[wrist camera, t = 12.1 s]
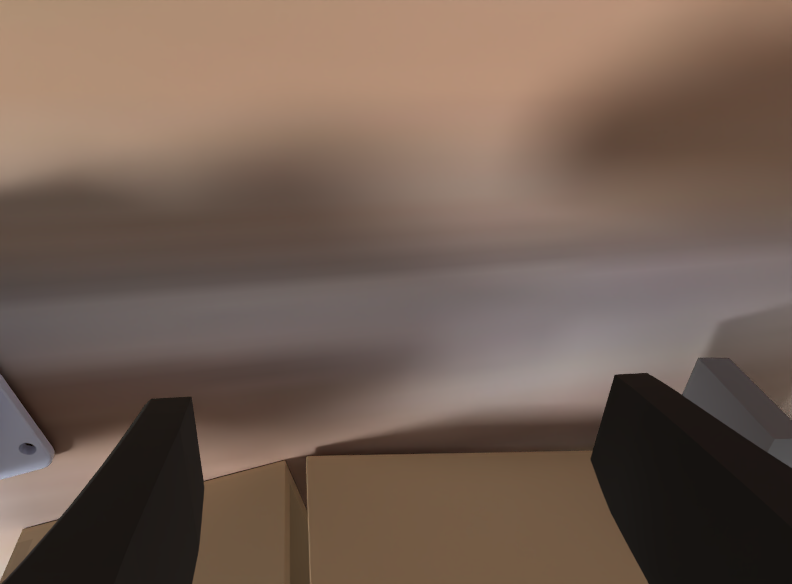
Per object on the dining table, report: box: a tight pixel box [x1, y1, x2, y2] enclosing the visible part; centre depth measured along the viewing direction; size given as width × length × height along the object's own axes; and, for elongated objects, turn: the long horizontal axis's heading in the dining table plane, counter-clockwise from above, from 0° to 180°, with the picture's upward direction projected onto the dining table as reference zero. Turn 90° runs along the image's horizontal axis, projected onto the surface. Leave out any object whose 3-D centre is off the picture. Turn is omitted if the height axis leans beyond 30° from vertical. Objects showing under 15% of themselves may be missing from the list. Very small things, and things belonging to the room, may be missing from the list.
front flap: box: [306, 358, 792, 584], centre depth 21 cm, size 16×6×6 cm, turn 83°
